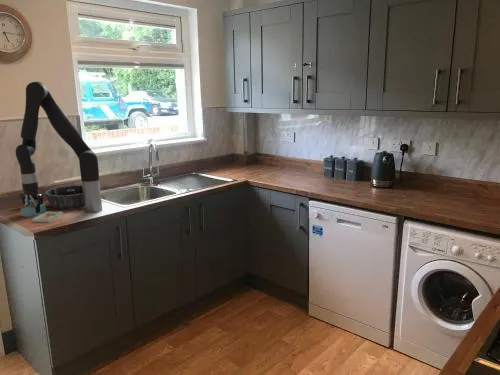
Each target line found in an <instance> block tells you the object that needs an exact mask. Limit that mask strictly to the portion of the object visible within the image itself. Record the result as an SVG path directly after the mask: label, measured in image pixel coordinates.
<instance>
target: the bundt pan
mask: <svg viewBox="0 0 500 375" xmlns="http://www.w3.org/2000/svg"><path fill="white" fill-rule="evenodd" d="M45 196H46V198H47V201H48V204H49V206H50V207H51V208H53V209H55V210H61V211H62V210H72V209H73V210H74V209H78V208H81V209H82V208H84V200H83V191H82V184H80V185H79V184H73V185H64V186H58V187H54V188H51V189H49V190H46V191H45Z"/></svg>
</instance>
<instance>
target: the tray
mask: <svg viewBox="0 0 500 375" xmlns="http://www.w3.org/2000/svg"><path fill="white" fill-rule="evenodd" d="M63 215H64V212H63V211H46V212H44V213H42V214H40V215H38V216H35V217H34V218H32V219H31V221H32V223H51V222H52V221H54V220H56V219H58V218H59V217H61V216H63ZM46 216H50V217H49V218H45V217H46Z"/></svg>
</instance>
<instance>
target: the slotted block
mask: <svg viewBox="0 0 500 375" xmlns="http://www.w3.org/2000/svg"><path fill="white" fill-rule="evenodd" d="M43 212H44V213H45V212H47V208H46V204H45V203H43V204H42V205H40V213H42V214H43ZM40 213H36V209H35V207H32V208H31V206H28V207H26V206H25V207H22V208H20V214H21V217H25V218H26V217H27V218H28V217H29V218H30V217H31V218H32V217H35V216H34V215H37V214H40ZM40 215H41V214H40Z"/></svg>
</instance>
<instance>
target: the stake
mask: <svg viewBox="0 0 500 375" xmlns="http://www.w3.org/2000/svg"><path fill="white" fill-rule="evenodd" d="M28 206H31V208H32V207H35V204H28ZM43 213H45V212H43ZM43 213H40V214H37V215H34V216H33V217H37V216H39V215H41V214H43Z"/></svg>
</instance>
